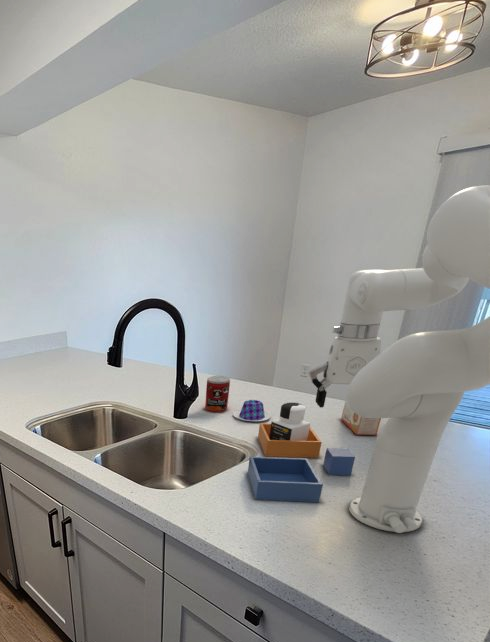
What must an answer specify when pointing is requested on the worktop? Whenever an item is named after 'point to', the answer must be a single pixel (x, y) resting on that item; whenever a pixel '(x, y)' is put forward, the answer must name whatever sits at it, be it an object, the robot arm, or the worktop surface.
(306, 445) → the amber bin
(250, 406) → the pudding
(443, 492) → the worktop surface
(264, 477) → the blue bin
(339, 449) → the blue block
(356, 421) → the cracker box
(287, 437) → the medicine bottle
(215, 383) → the canned food
